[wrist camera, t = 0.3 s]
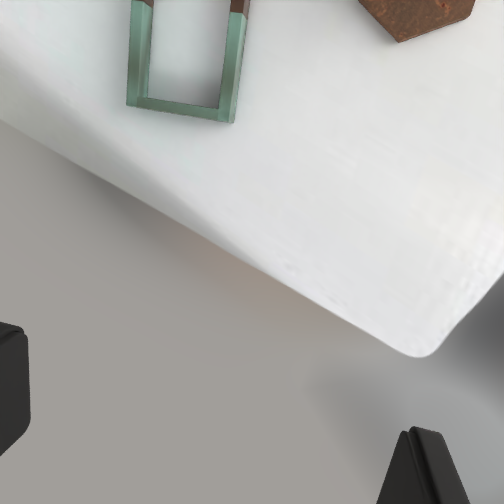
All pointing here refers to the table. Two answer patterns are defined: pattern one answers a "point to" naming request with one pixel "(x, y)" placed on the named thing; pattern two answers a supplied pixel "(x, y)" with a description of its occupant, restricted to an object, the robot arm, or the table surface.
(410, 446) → the robot arm
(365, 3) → the robot figurine
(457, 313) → the table surface
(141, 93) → the slide track
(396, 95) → the table surface
